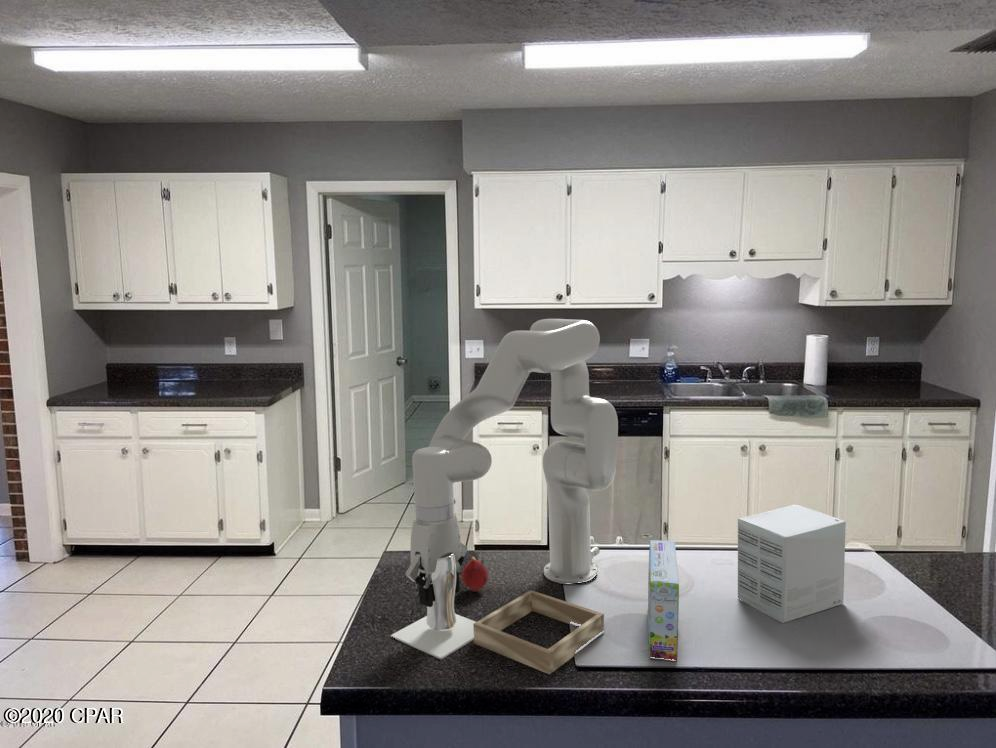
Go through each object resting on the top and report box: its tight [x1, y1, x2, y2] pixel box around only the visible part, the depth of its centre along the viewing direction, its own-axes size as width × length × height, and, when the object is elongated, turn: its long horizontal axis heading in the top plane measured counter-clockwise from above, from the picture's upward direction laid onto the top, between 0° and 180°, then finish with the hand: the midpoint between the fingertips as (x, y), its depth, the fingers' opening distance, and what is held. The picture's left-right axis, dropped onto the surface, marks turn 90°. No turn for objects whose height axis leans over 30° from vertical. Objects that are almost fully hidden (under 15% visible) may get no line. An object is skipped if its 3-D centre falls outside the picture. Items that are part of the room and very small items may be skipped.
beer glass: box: [423, 551, 457, 632], centre depth 141 cm, size 7×7×15 cm
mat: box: [390, 613, 477, 660], centre depth 142 cm, size 14×14×1 cm
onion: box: [461, 556, 489, 593], centre depth 159 cm, size 6×6×8 cm
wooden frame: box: [473, 590, 605, 675], centre depth 138 cm, size 18×18×4 cm
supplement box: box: [737, 503, 847, 624], centre depth 148 cm, size 17×13×18 cm
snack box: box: [647, 539, 680, 661], centre depth 138 cm, size 21×6×15 cm, turn 168°
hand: (439, 597), depth 141 cm, fingers closed on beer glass, 6 cm apart
